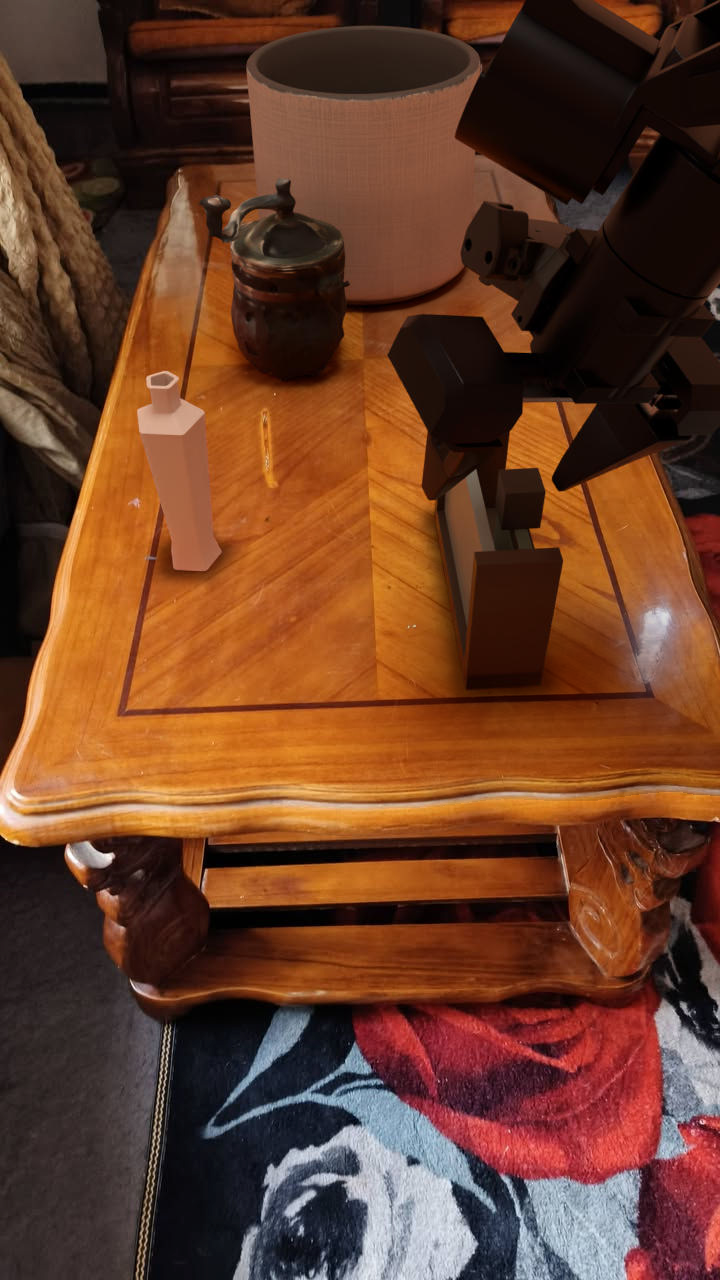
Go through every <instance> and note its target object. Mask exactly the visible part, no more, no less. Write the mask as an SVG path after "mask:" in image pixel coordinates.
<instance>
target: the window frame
mask: <svg viewBox="0 0 720 1280" xmlns="http://www.w3.org/2000/svg"><path fill="white" fill-rule="evenodd" d="M510 434H511V431H509V432H507V433H505V434H504V435H502V436H500V437H499V439H500V441H501V442H502V444H503V447H502V448H501V449H500V450H499V451H498V452H497V453H496V454H494V455H493V456H492V457H491V458H489V459H488V460H487V461H486V462H484V463H483V464H482V465H480V466H479V467H478V468H477V469H476V470H474V471H473V472H472V473H471V474H469V475H468V476H467V477H466V478H464V479H463V480H462V481H461V482H459V483H458V484H457V485H456V486H455V487H453V488H452V489H451V490H450V491H448V492H447V493H445V494H444V495H442V496H441V497H439V498H438V499H436V500H434V513H433V517H434V523H435V528H436V534H437V539H438V544H439V551H440V556H441V562H442V568H443V574H444V578H445V584H446V591H447V595H448V601H449V606H450V612H451V617H452V622H453V629H454V634H455V641H456V647H457V650H458V651H457V652H458V657H459V662H460V667H461V673H462V679H463V680H462V681H463V685H464V689H465V690H466V691H467V690H468V691H470V690H485V689H486V690H488V689H502V688H504V689H505V688H520V687H521V688H522V687H539V686H541V685H542V680H543V674H544V670H545V665H546V658H547V653H548V648H549V643H550V642H549V641H550V637H551V630H552V625H553V621H554V620H553V619H554V614H555V609H556V602H557V598H558V592H559V587H560V583H561V576H562V570H563V565H564V558H563V555H562V552H561V551H562V550H561V548H560V547H559V546H557V547H556V546H555V547H538V548H537V547H535V549H517V550H498V551H496V550H495V546H494V535H495V526H496V516H497V511H496V507H495V503H496V494H497V484H498V475H499V470H503V469H507V460H508V453H509V444H510V436H511V435H510Z"/></svg>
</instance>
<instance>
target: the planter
mask: <svg viewBox="0 0 720 1280" xmlns="http://www.w3.org/2000/svg"><path fill="white" fill-rule="evenodd" d="M479 55H480V54H479V53H478V52H477V51H476V50H475V48H473V47H472V46H471V45H469V44H468V43H466V42H464V41H462V40H460V39H458V38H455V37H452V36H450V35H448V34H444V33H439V32H436V31H431V30H426V29H420V28H414V27H413V28H412V27H405V26H404V27H403V26H391V25H390V26H389V25H351V26H349V25H348V26H336V27H329V28H328V27H327V28H322V29H321V28H320V29H314V30H308V31H303V32H299V33H294V34H292V35H288V36H284V37H282V38H278V39H275V40H273V41H271V42H269V43H266V44H264V45H262V46H261V47H259V48H258V49H257V50H254V52H253V53H251V55H249V58H248V59H247V61H246V79H247V80H246V81H247V87H248V88H247V91H248V102H249V112H250V123H251V136H252V148H253V161H254V173H255V187H256V197H258V196H264V195H269V194H274V193H277V190H276V187H275V184H276V181H277V179H278V178H287V179H289V180H290V181H291V185H290V193H291V195H292V196H293V197H294V199H295V201H296V204H295V207H294V209H293V212H296V213H300V214H303V215H306V216H308V217H310V218H315V219H317V220H322V221H324V222H326V223H329V224H331V225H333V226H334V227H335V228H336V229H338V230H339V231H340V232H341V234H342V236H343V239H344V246H345V270H344V282H345V281H347V280H348V282H349V283H350V285H349V286H348V287H344V289H345V296H346V302H347V306H379V305H387V304H394V303H401V302H406V301H409V300H413V299H416V298H419V297H422V296H425V295H428V294H430V293H432V292H434V291H437V290H438V289H439V288H441V287H443V286H445V285H446V284H448V283H449V282H451V281H452V280H453V279H454V278H456V277H457V276H458V275H459V274H460V273H461V272H462V270H464V268H465V266H464V265H463V263H462V260H461V254H460V253H461V248H462V244H463V241H464V237H465V233H466V230H467V228H468V226H469V224H470V223H471V221H472V219H473V211H474V209H473V205H474V188H475V187H474V185H475V184H474V183H475V166H476V165H475V163H476V151H475V150H473V149H472V148H470V147H468V146H467V145H465V144H463V143H462V142H460V141H458V140H456V139H455V133H456V129H457V126H458V123H459V121H460V118H461V116H462V113H463V111H464V108H465V106H466V104H467V101H468V99H469V97H470V94H471V92H472V90H473V88H474V86H475V84H476V81H477V79H478V77H479V75H480V74H481V57H480V56H479ZM257 211H258V212H257V213H258V220H260V219H261V218H264V217H267V216H269V215H271V214H274V213H276V212H275V211H274V210H269V209H257Z"/></svg>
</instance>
